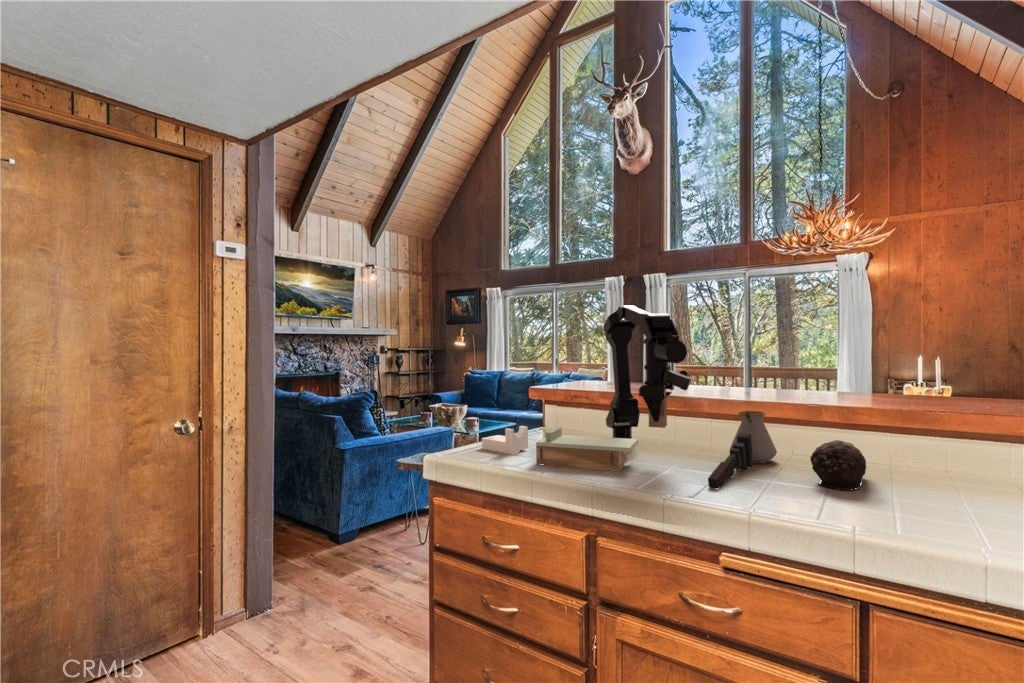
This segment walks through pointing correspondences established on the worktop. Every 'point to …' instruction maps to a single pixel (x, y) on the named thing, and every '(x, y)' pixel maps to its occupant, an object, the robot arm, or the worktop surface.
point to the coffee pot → (756, 436)
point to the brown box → (581, 458)
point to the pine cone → (839, 465)
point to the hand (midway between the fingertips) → (657, 420)
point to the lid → (586, 442)
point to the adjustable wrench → (733, 461)
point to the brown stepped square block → (662, 418)
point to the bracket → (507, 441)
